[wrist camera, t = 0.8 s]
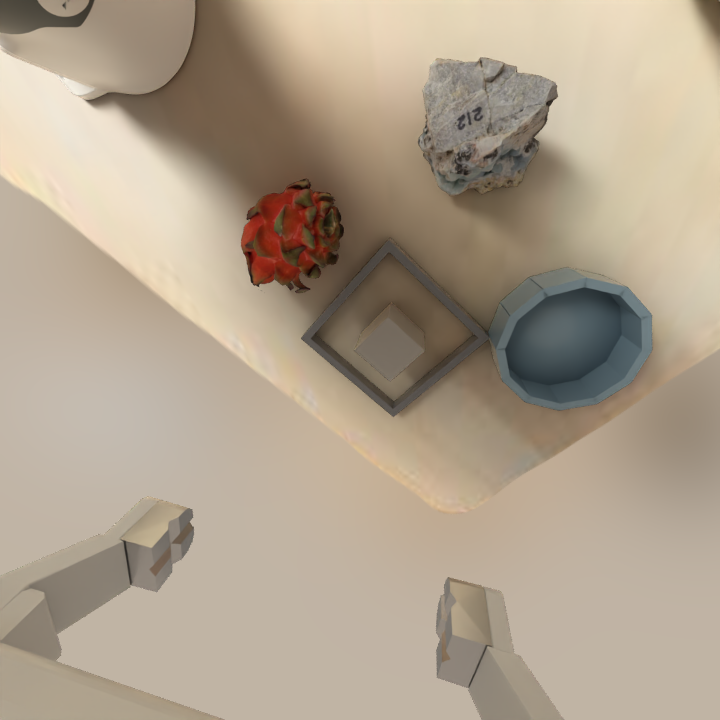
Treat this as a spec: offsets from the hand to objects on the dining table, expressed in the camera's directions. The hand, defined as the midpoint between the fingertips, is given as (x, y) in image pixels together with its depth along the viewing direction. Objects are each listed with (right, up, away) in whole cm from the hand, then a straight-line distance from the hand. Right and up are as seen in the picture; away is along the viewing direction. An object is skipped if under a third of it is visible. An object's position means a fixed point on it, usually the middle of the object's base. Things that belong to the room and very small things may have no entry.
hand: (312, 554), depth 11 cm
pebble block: (+5, +9, +29) cm, 31 cm away
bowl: (+22, +9, +26) cm, 35 cm away
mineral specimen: (+11, +26, +20) cm, 35 cm away
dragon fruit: (-5, +19, +26) cm, 33 cm away
